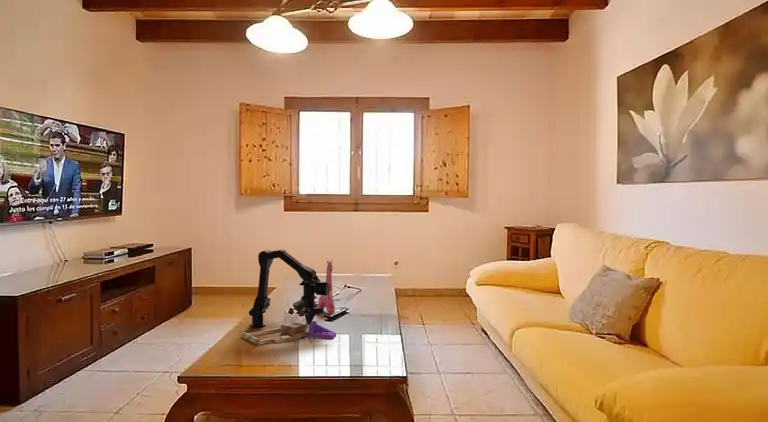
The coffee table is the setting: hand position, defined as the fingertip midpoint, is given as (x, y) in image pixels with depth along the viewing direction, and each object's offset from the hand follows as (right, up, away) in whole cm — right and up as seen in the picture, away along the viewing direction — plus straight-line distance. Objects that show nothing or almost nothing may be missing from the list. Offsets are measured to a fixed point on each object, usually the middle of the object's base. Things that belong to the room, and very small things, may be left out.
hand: (308, 324), depth 294 cm
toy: (+5, -1, +41) cm, 42 cm away
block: (-7, -3, -6) cm, 10 cm away
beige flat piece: (-14, -3, -13) cm, 19 cm away
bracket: (+8, -4, -11) cm, 14 cm away
